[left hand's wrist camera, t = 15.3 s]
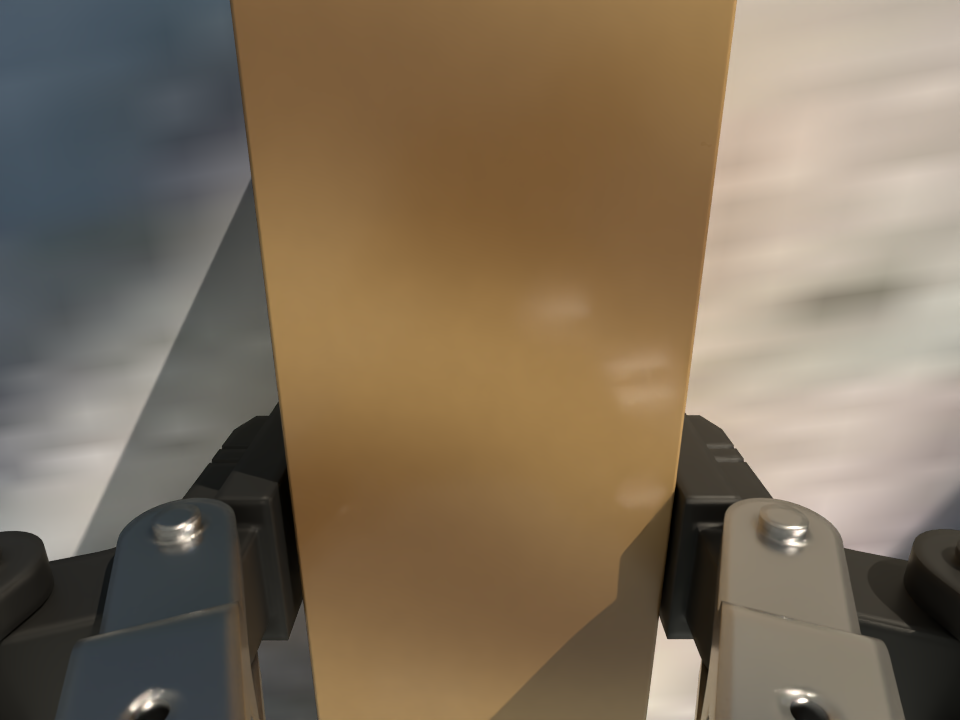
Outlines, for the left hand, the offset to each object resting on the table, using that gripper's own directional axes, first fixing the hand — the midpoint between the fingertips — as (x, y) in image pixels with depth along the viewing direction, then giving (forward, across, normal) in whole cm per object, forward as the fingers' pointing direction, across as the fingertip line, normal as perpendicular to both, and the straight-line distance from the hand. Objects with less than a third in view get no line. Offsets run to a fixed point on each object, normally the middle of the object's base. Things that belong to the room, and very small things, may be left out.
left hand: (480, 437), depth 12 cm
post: (+3, 0, -19) cm, 19 cm away
